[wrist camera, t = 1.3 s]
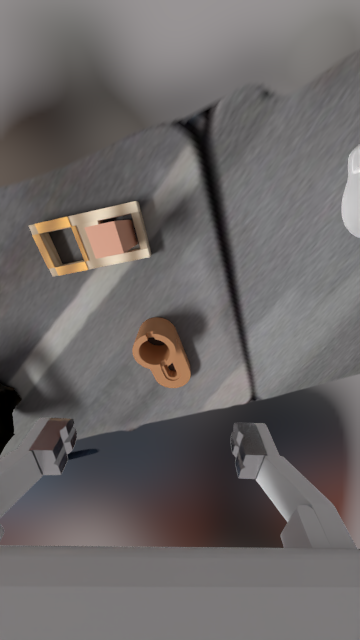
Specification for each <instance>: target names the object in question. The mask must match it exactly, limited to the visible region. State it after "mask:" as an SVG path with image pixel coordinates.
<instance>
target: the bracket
mask: <svg viewBox="0 0 360 640" xmlns="http://www.w3.org/2000/svg"><path fill="white" fill-rule="evenodd" d="M150 337H154V338H155V340H160V341H162V342H164V343H165V344H164V345H160V346H157V345H153V344H151V343H149V342H148V341H147V340H148V338H150ZM133 356H134V358H135V360H136V361H137V362H138V363H139V364H140V365H142V366H143V367H145V368H148V369H151V371H152V373H153V375H154V377H155V379H156V381H157V382H158V383H159V384H161V385H162V386H164V387H168V388H178V387H181V386H183V385H185V384H186V383H187V382H188V381H189V379H190V376H191V373H190V363H189V361H188V358H187V356H186V353H185V351H184V348H183V346H182V343H181V341H180V338H179V336H178V333H177V331H176V329H175V327H174V325H173V324H172V323H171V322H170V321H168V320H166V319H164V318H158V317H155V318H151V319H148V320H146V321H145V322H144V323H143V324H142V325H141V327H140V329H139V332H138V334H137V337H136V340H135V343H134V345H133ZM171 363H173V365H174V367H175V369H176V370H175V371H171V370H169V368H168V366H169V365H170V364H171Z"/></svg>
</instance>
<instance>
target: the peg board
mask: <svg viewBox="0 0 360 640" xmlns="http://www.w3.org/2000/svg"><path fill="white" fill-rule="evenodd" d="M129 214H131V215H132V219H133V223H134V226H135V230H136V234H137V237H138V241H139V245H140V248H139V249H135V250H130V251H126V252H125V253H122V254H117V255H112V256H107V257H103V258H98V259H96V258H95V255H94V252H93V250H92V247H91V244H90V241H89V239H88V236H87V233H86V231H85V227H89V226H94V225H98V224H103V220H106V219H111V218H115V217H120V216H124V215H129ZM29 228H30V230H31V232H32V234H33V235H32V236H33V238H34V240H35V242H36V244H37V246H38V248H39V250H40V253H41V255H42V257H43V259H44V261H45V263H46V265H47V267H48V269H49V270H50V272H51V274H52V276H53V277H54V276H59V275H64V274H69V273H74V272H79V271H84V270H88V269H93V268H98V267H103V266H108V265H113V264H118V263H123V262H128V261H133V260H138V259H143V258H148V257H150V256H151V255H152V254H151V250H150V246H149V242H148V237H147V233H146V229H145V225H144V221H143V217H142V213H141V209H140V205H139V202H137V201H134V202H129V203H125V204H120V205H116V206H112V207H107V208H103V209H99V210H94V211H90V212H86V213H81V214H77V215H72V216H68V217H63V218H59V219H54V220H50V221H46V222H41V223H37V224H33V225H29ZM66 228H72V230H73V233H74V236H75V238H76V241H77V243H78V246H79V248H80V251H81V253H82V256H83V258H84V260H81V261H76V262H72V263H67V264H62V262H61V260H60V257H59V255H58V253H57V251H56V248H55V246H54V244H53V242H52V239H51V237H50V235H49V233H48V232H53V231H57V230H62V229H66Z"/></svg>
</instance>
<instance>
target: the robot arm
mask: <svg viewBox="0 0 360 640" xmlns="http://www.w3.org/2000/svg"><path fill="white" fill-rule="evenodd" d="M342 218H343V221H344V224H345V226H346V228H347V229H348V230H349V232H350V233H352V234H353V235H354V236H356V237H358V238H360V144H359V145H358V146H357V147H356V148H355V149H354V150H353V151H352V152H351V154H350V156H349V159H348V181H347V185H346V188H345V191H344V195H343V199H342ZM73 425H74V420H73V419H67V418H46V417H41V418H40V419H38V420H37V421H36V423H35V424H34V426H33V427H32V429H31V430H30V431H29V433H28V434H27V436H26V437H25V438H24V440H23V441H22V443H21V444H20V446H19V447H18V448H17V450H13V451H11V452H10V453H8V454H7V455H6V456H4V457H3V458H1V459H0V518H1V517H2V516H3V515H4V514H5V513H6V512H7V511H8V510H9V509H10V508H11V507H12V506H13V505H14V504H15V503H16V502H17V501H18V500H19V499H20V498H21V497H22V496H23V495H24V494H25V493H26V492H27V491H28V490H29V489H30V488H31V487H32V486H33V485H34V484H35V483H36V482H37V481H38V480H39V479H40V478H41V477H42V475H61V474H62V472H63V470H64V467H65V465H66V463H67V461H68V456H67V454H68V453H70V452H71V451H72V450H73V448H74V446H75V443H76V439H77V431H76V429H75V428H74V427H73ZM233 429H234V432H233V433H232V435H231V448H232V452H233V454H234V456H235V457H236V461H235V466H236V470H237V474H238V478H246V479H256V481H257V482H258V483H259V485H260V486H261V487H262V488H263V490H264V491H265V493H266V494H267V495H268V497H269V498H270V499H271V501H272V502H273V503H274V505H275V506H276V507H277V509H278V510H279V512H280V513H281V514H282V515H283V517H284V518H285V520H286V521H287V522H288V523H287V525H286V526H285V528H284V530H283V531H282V533H281V539H282V542H283V546H284V548H211V547H210V548H209V547H207V548H206V547H204V548H203V547H105V546H0V640H360V549H357V547H356V545H355V543H354V542H353V540H352V538H351V536H350V534H349V532H348V531H347V529H346V527H345V525H344V523H343V521H342V519H341V518H340V516H339V514H338V512H337V510H336V508H335V507H334V505H333V504H332V503H331V502H330V501H329V500H328V499H327V498H326V497H325V496H324V495H323V494H322V493H321V492H319V490H317V489H316V488H315V487H314V486H313V485H312V484H311V483H310V482H309V481H308V480H307V479H306V478H305V477H304V476H303V475H302V474H300V473H299V472H298V471H297V470H296V469H295V468H294V467H293V466H292V465H291V464H290V463H289V462H288V461H287V460H286V459H285V458H284V457H283V456H279V454H278V451H277V449H276V447H275V444H274V442H273V440H272V437H271V435H270V433H269V431H268V428H267V426H266V425H265V424H264V423H235V424H234V426H233ZM3 534H4V528H3V527H2V526H1V524H0V540H1V538H2V536H3Z"/></svg>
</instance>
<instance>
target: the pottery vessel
mask: <svg viewBox="0 0 360 640" xmlns="http://www.w3.org/2000/svg"><path fill="white" fill-rule="evenodd" d="M20 401H21V398H20V397H19V395H17V393H16V391H15V390H14V388H10V387H6V386H3V385H1V384H0V454H1V453H2V451H3V449H4V447H5V446H6V444H7V443H8V442H9V440H10V439H11V438H12V437H13V435H14V426H13V416H12V413H13V410H14V409H15V407H16V405H18V404H19V403H20Z"/></svg>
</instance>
